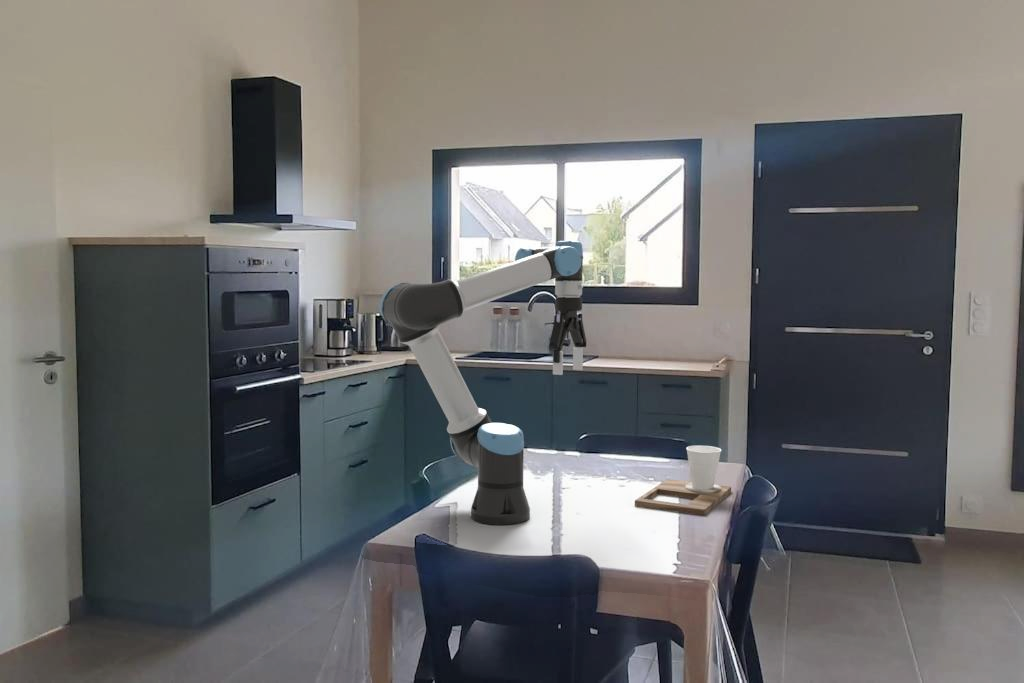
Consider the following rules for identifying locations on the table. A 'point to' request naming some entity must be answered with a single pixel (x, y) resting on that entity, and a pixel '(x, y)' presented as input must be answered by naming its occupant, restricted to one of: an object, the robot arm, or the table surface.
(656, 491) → the board
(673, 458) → the table surface
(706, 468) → the cup
